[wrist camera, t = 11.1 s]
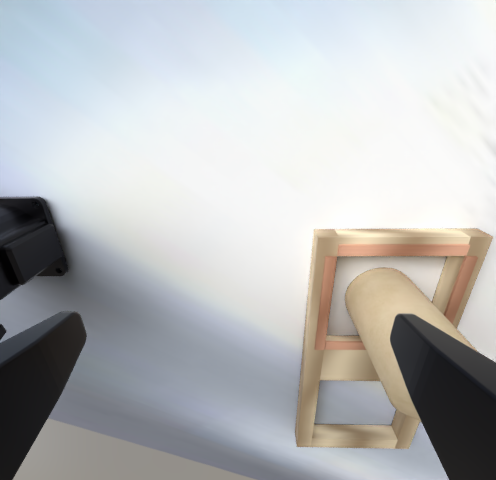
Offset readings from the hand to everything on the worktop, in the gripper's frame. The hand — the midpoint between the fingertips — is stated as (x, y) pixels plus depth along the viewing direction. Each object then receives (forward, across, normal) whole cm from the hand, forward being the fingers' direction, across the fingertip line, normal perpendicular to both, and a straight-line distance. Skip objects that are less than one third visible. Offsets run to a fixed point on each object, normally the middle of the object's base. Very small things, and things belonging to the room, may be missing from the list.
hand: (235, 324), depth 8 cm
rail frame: (+13, -11, +15) cm, 23 cm away
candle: (+13, -11, +8) cm, 19 cm away
